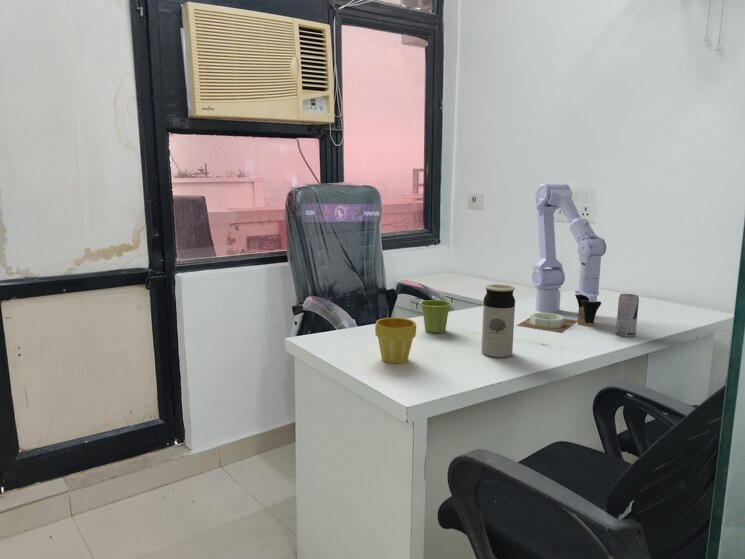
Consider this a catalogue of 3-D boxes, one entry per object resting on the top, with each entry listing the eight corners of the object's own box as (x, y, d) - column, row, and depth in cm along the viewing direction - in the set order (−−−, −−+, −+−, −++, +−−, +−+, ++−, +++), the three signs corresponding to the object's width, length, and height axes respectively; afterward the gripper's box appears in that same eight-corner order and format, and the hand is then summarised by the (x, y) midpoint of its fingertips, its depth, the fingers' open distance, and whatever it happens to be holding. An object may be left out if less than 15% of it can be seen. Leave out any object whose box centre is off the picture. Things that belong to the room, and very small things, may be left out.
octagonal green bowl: (536, 318, 179) (537, 311, 179) (566, 322, 174) (567, 315, 173) (526, 324, 171) (526, 317, 171) (557, 329, 166) (558, 321, 166)
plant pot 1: (423, 361, 139) (424, 324, 137) (390, 368, 133) (390, 329, 131) (399, 350, 147) (400, 315, 146) (367, 357, 142) (367, 320, 140)
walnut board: (535, 317, 185) (535, 314, 185) (578, 323, 177) (578, 320, 177) (515, 328, 170) (515, 325, 170) (561, 336, 162) (561, 332, 162)
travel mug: (487, 347, 151) (490, 282, 148) (515, 352, 147) (519, 285, 144) (477, 355, 144) (480, 287, 141) (507, 360, 140) (510, 290, 137)
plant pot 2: (413, 330, 167) (413, 303, 165) (431, 325, 174) (432, 298, 172) (438, 337, 161) (439, 308, 159) (456, 330, 168) (457, 302, 166)
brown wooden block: (580, 325, 175) (582, 306, 174) (593, 327, 173) (595, 308, 172) (577, 327, 172) (578, 308, 171) (590, 329, 170) (592, 310, 169)
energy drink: (637, 334, 164) (641, 295, 162) (631, 338, 161) (635, 298, 158) (619, 331, 168) (622, 292, 166) (613, 334, 164) (616, 295, 162)
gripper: (571, 272, 178) (568, 314, 180) (580, 280, 163) (577, 325, 166) (594, 273, 176) (591, 315, 179) (605, 281, 162) (602, 326, 165)
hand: (586, 320), depth 172 cm, fingers open, 7 cm apart
